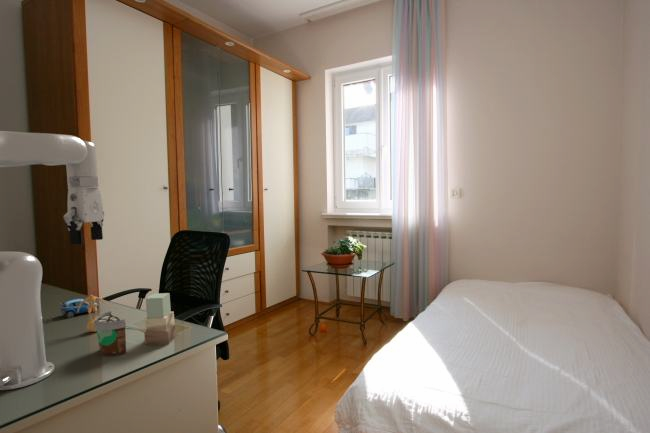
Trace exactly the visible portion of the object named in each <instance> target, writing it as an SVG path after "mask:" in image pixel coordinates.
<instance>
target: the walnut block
mask: <svg viewBox="0 0 650 433" xmlns="http://www.w3.org/2000/svg"><path fill="white" fill-rule="evenodd" d="M143 335H144V344H145V346H151V345H152V346H154V345H155V346H157V345H170V344H171V343H172V342H173V341H174V339H176V337H177V336H178V335H179V334H178V323H175V322H174V325H173V326H172V327H171V328H170V329H169V330H168V331H160V332H146V331H145V332H144V334H143Z"/></svg>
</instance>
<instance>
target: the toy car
mask: <svg viewBox="0 0 650 433" xmlns="http://www.w3.org/2000/svg"><path fill="white" fill-rule="evenodd" d="M83 300H85V299H84V298H75V299H72V300H68V301H66V302H63V301H61V302H59V305H60V306H61V309H60V311H59V313H60V314H61V315H63V316H66V318H68V319H70V318H74V316H75V315H80V314H83V313H88V308H87V307H88V306H89V307H90V304H89V303H88V301H85V302H83V303H82V304H81V307H80V308H79V312H77V311H78V307H79V305H80V302H82V301H83ZM94 305H97V311H98V310H99V305H98V303H97V302H95V303H94ZM91 309H92V311H91V314H93V313H94V314H95V311H94V310H93V308H91Z"/></svg>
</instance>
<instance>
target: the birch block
mask: <svg viewBox="0 0 650 433" xmlns="http://www.w3.org/2000/svg"><path fill="white" fill-rule="evenodd" d="M174 313H175V312H174V310H173V311H171V312H170V313H169V314H168V315H167V316H165V317H164V318H147V317H146V318H145V329H146V331H145V332H160V331H168V330H169V329H170V328H171V327H172V326H173V325H174V323H175V314H174Z"/></svg>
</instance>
